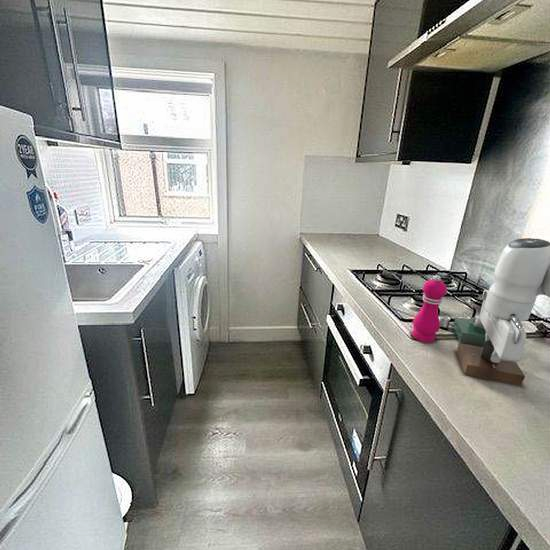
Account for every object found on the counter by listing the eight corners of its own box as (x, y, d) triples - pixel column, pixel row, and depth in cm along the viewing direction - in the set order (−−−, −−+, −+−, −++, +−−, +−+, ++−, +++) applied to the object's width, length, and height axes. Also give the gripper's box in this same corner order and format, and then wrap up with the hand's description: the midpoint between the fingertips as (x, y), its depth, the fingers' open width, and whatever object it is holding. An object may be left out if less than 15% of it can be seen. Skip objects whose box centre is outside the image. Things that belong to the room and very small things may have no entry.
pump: (488, 322, 91) (489, 316, 91) (492, 328, 88) (494, 322, 87) (473, 319, 92) (474, 313, 92) (476, 326, 89) (478, 320, 88)
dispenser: (495, 332, 94) (500, 318, 93) (507, 350, 86) (512, 335, 84) (452, 325, 98) (456, 311, 96) (459, 342, 89) (463, 327, 87)
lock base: (506, 361, 81) (510, 351, 80) (521, 386, 72) (525, 375, 71) (456, 351, 84) (459, 342, 83) (464, 374, 76) (467, 363, 74)
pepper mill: (410, 340, 89) (424, 277, 82) (410, 328, 96) (423, 269, 88) (437, 346, 87) (454, 282, 79) (435, 333, 93) (450, 273, 86)
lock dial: (479, 351, 80) (483, 337, 78) (497, 355, 78) (501, 341, 77) (481, 360, 76) (486, 345, 75) (500, 364, 75) (506, 350, 73)
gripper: (541, 330, 62) (520, 384, 67) (509, 292, 79) (494, 337, 84) (505, 324, 64) (486, 376, 69) (482, 288, 81) (468, 332, 87)
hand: (491, 354), depth 77 cm, fingers closed on lock dial, 4 cm apart
